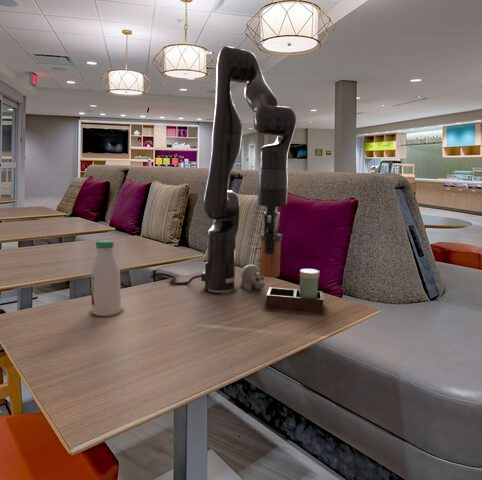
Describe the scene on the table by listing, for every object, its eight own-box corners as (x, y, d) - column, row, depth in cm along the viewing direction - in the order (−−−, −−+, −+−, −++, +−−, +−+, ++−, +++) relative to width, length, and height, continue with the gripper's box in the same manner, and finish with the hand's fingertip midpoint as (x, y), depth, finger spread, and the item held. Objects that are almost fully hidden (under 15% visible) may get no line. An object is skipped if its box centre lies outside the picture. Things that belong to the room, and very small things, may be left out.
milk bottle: (126, 309, 118) (125, 240, 115) (109, 318, 111) (108, 244, 108) (103, 306, 121) (101, 237, 117) (85, 314, 114) (83, 242, 110)
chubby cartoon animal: (251, 297, 132) (251, 271, 131) (237, 287, 143) (238, 262, 142) (271, 295, 135) (272, 269, 133) (256, 285, 146) (257, 261, 144)
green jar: (297, 309, 120) (299, 272, 118) (298, 303, 125) (300, 268, 124) (317, 311, 119) (319, 273, 117) (317, 305, 124) (319, 269, 123)
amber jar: (258, 276, 109) (259, 235, 107) (260, 271, 114) (261, 232, 112) (279, 278, 108) (281, 236, 106) (281, 273, 113) (282, 233, 111)
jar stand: (265, 310, 120) (266, 295, 120) (268, 301, 129) (269, 287, 128) (322, 315, 118) (323, 299, 117) (321, 306, 126) (322, 291, 125)
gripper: (261, 185, 115) (259, 245, 118) (254, 187, 101) (252, 255, 104) (288, 186, 113) (286, 247, 116) (285, 188, 100) (283, 257, 102)
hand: (270, 251), depth 110 cm, fingers closed on amber jar, 5 cm apart
